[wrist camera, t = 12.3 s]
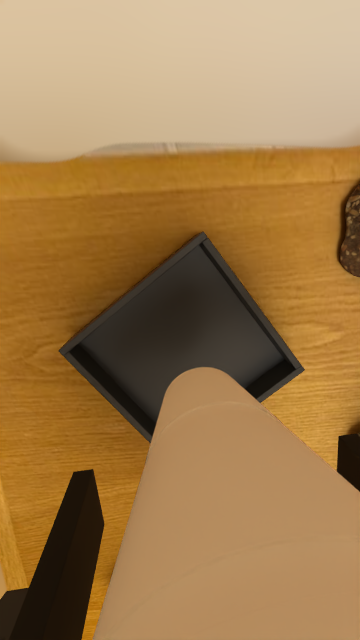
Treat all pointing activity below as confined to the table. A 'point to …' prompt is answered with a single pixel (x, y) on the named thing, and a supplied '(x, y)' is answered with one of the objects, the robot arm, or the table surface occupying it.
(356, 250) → the bread roll
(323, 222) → the table surface
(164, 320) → the tray
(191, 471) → the cup
